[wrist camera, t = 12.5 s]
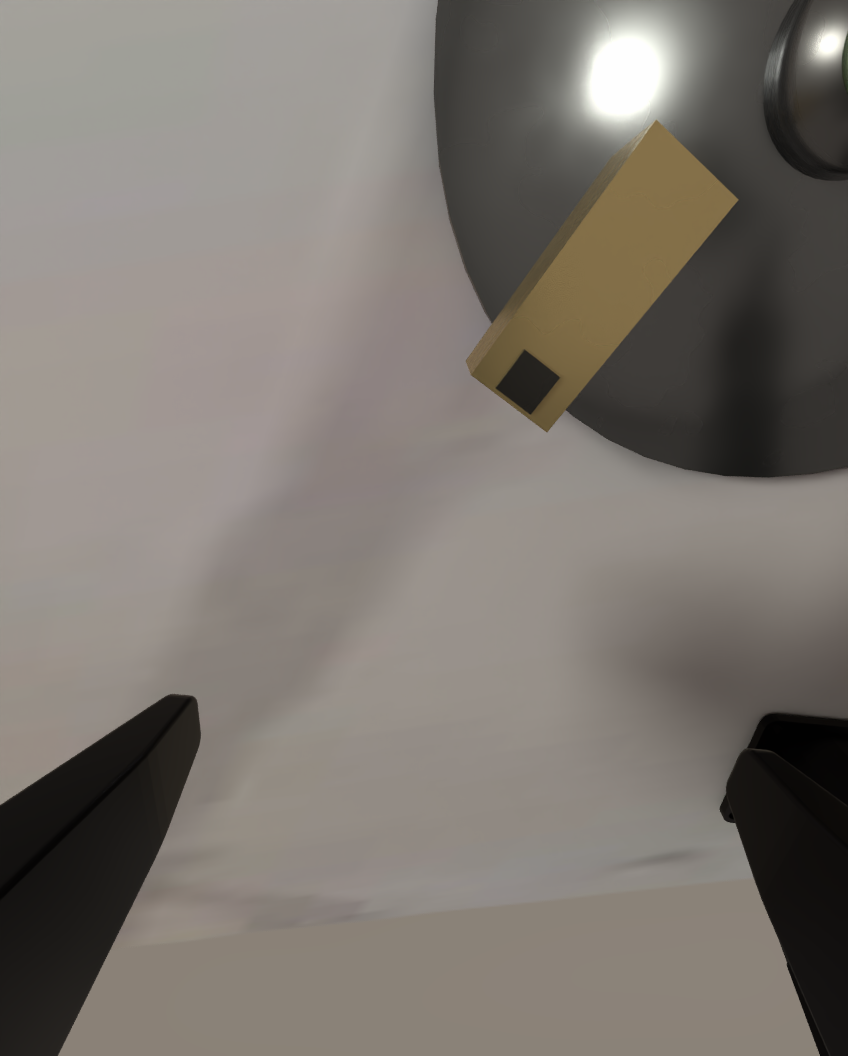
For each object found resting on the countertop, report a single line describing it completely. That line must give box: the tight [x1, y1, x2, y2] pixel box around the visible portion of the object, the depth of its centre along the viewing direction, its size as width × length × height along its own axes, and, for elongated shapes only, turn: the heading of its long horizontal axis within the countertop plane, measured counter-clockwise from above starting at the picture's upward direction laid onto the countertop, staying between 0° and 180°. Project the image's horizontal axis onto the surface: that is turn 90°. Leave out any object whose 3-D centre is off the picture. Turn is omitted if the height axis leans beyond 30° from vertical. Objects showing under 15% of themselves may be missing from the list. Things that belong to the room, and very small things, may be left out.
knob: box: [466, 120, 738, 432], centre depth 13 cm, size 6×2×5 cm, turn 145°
